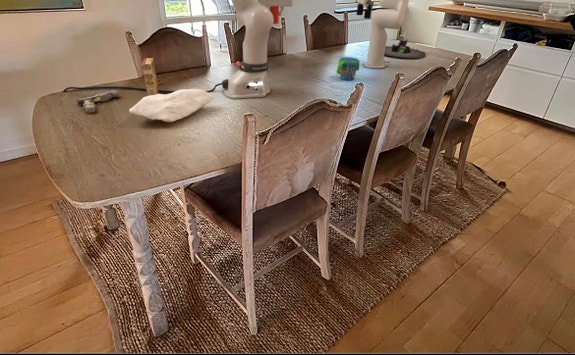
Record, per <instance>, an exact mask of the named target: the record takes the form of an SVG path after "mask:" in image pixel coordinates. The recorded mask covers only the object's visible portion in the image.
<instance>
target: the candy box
mask: <svg viewBox="0 0 575 355" xmlns="http://www.w3.org/2000/svg"><path fill="white" fill-rule="evenodd" d="M141 66H142V73H143V78H144V82H145V87H146V89H147V90H146V92H147V96H150V95H156V94H159V93H160V92H159V91H158V90H159V84H158V79H157V73H156V66H155V62H154V58H153V57H151V58H150V57H149V58H146V57H145V58H143V60H142V63H141Z"/></svg>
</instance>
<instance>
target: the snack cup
mask: <svg viewBox="0 0 575 355" xmlns="http://www.w3.org/2000/svg"><path fill="white" fill-rule="evenodd" d="M338 60H339V62H338V65H337V68H336V74H337V75H340V76H339V77H340V79H342V80H345V81H352V80H354V79H355V77H356V73H357V71H359V70H360V62H361V61H360V59H359V58H356V57H350V56H349V57H348V56H343V57H340V58H338Z"/></svg>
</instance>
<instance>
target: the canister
mask: <svg viewBox="0 0 575 355" xmlns="http://www.w3.org/2000/svg"><path fill="white" fill-rule="evenodd" d="M268 9H269V10H270V12H271V13H272V15H273V19H274V22H273V25H278V24H279V23H280V22H279V21H280V20H279V19H280V16H279V12H280V7H279V6H272V7H268Z"/></svg>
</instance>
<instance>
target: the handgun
mask: <svg viewBox="0 0 575 355" xmlns="http://www.w3.org/2000/svg"><path fill="white" fill-rule="evenodd" d="M119 96H120V94H119V92H118V91H117V90H116V89H112V90H108V91H105V92H104V91H103V92H101V93H96V94H94V95H86V94H85V95H84V94H83V95H81V96H80V97H77V98H76V101H77V104H78V105H82V108H83V109H84V110H85V113H87V114H91V113H95V112H96V104H95V103H98V102H106V101H109V100H111V99H113V98H117V97H119Z"/></svg>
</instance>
